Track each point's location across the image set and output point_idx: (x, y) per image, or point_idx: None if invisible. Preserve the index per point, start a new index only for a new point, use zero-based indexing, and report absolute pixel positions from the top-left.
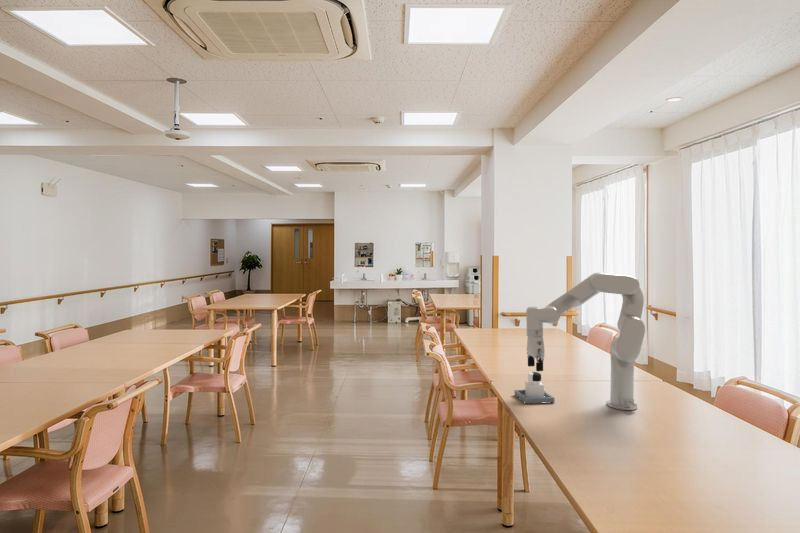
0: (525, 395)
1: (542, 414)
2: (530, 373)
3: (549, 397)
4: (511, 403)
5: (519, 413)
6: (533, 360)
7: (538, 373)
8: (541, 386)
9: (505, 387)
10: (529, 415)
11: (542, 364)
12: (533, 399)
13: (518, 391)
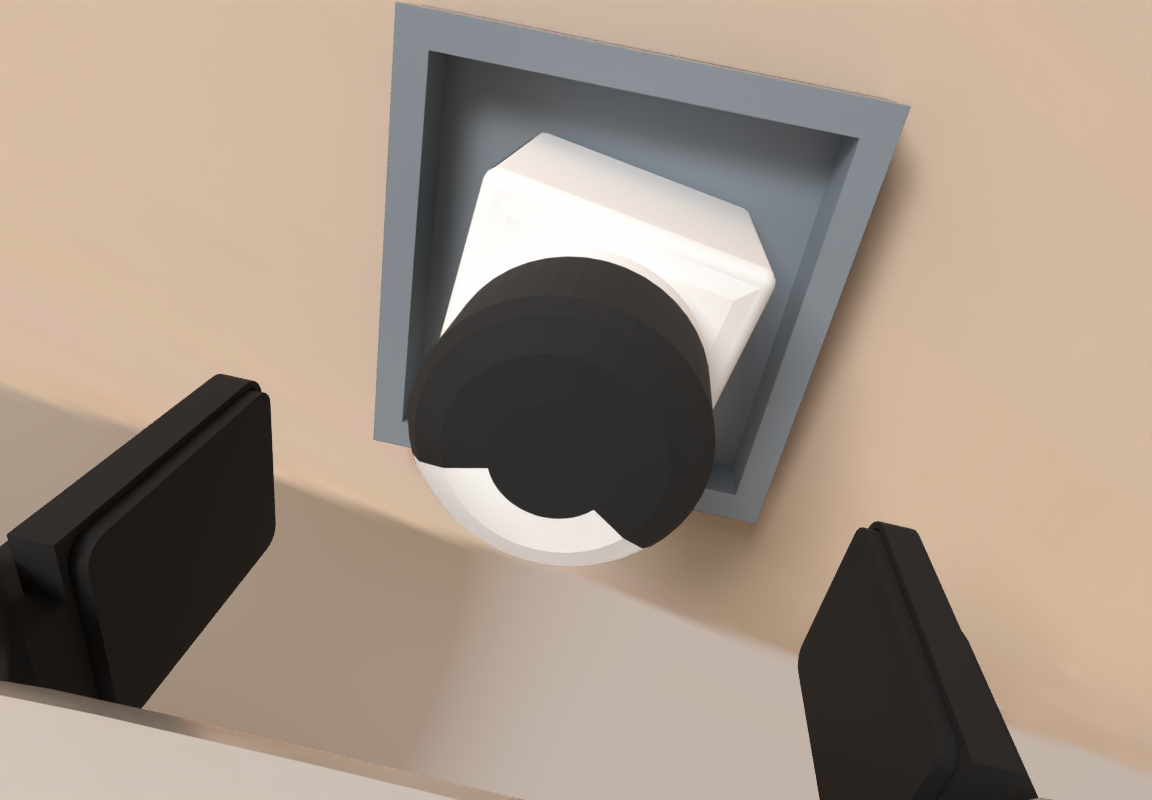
0: None
1: (1135, 523)
2: (552, 553)
3: (851, 178)
4: (667, 590)
5: None
6: (150, 524)
7: (625, 406)
8: (757, 317)
9: (71, 329)
10: (1069, 644)
11: (975, 711)
12: (787, 427)
13: (407, 398)
